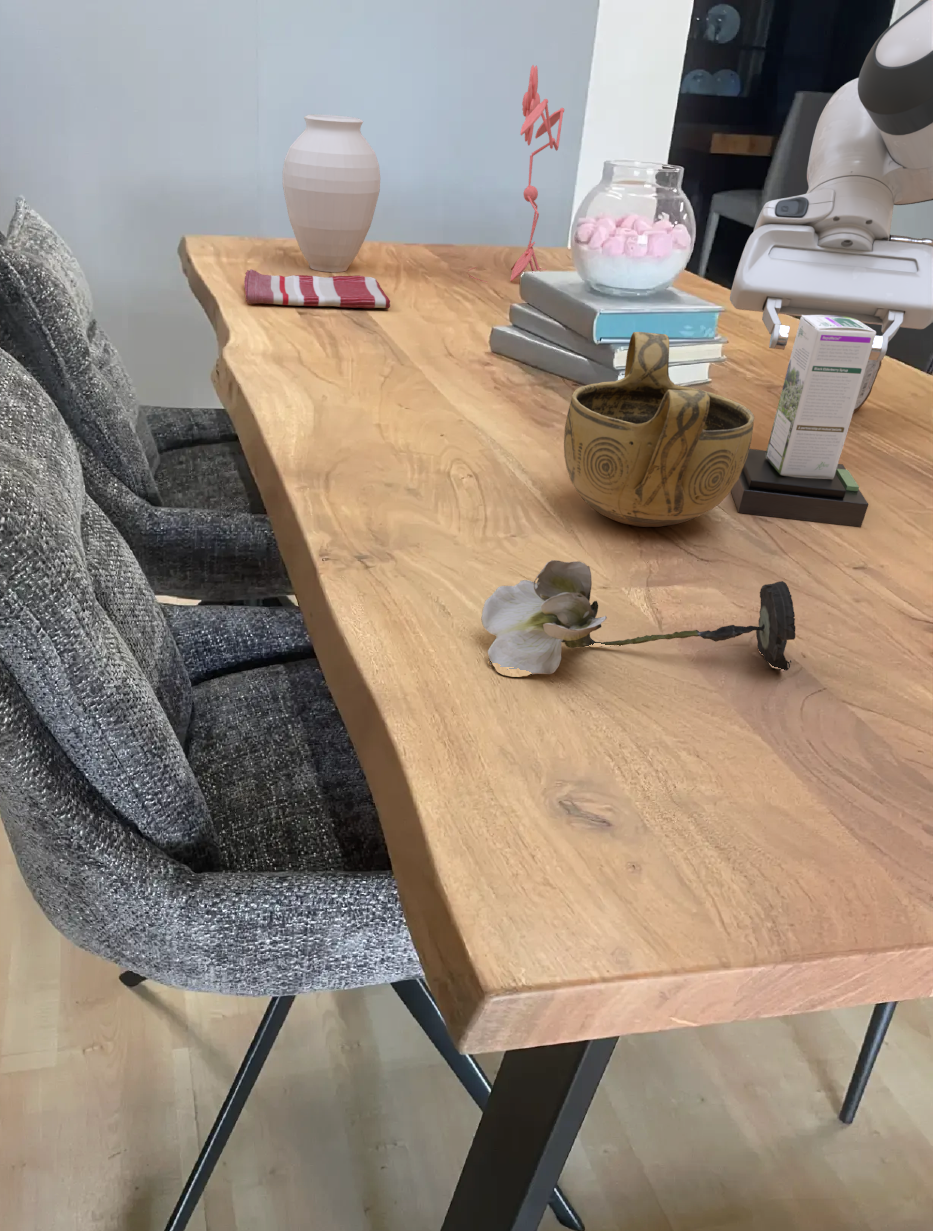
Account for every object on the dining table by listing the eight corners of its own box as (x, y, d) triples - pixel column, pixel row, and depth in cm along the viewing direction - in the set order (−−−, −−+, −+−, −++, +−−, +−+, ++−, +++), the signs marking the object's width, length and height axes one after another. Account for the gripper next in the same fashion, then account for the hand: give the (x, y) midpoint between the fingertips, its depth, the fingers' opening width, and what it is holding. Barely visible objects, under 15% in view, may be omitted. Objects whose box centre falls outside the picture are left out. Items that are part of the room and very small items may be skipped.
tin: (848, 403, 143) (868, 339, 138) (871, 409, 141) (892, 344, 136) (796, 422, 133) (815, 354, 129) (819, 429, 132) (839, 360, 127)
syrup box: (835, 480, 106) (882, 329, 98) (777, 476, 105) (819, 325, 98) (816, 461, 110) (859, 316, 102) (761, 457, 110) (799, 312, 102)
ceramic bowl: (543, 469, 112) (566, 322, 104) (702, 482, 112) (737, 336, 104) (563, 555, 93) (592, 383, 85) (754, 570, 93) (801, 400, 85)
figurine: (546, 269, 215) (575, 67, 195) (540, 293, 193) (571, 68, 174) (472, 261, 216) (493, 60, 197) (457, 284, 195) (479, 61, 176)
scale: (836, 485, 114) (845, 456, 112) (861, 527, 104) (871, 496, 102) (723, 472, 115) (731, 444, 113) (738, 512, 105) (746, 482, 103)
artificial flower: (795, 712, 76) (830, 609, 68) (482, 715, 78) (482, 615, 70) (772, 626, 82) (801, 523, 74) (480, 631, 83) (480, 531, 76)
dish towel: (243, 284, 182) (243, 267, 181) (377, 290, 186) (378, 274, 184) (245, 306, 168) (245, 288, 167) (390, 311, 172) (391, 294, 170)
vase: (280, 257, 206) (282, 109, 192) (370, 261, 208) (378, 116, 195) (282, 274, 191) (284, 116, 178) (379, 279, 194) (388, 123, 180)
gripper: (938, 261, 109) (924, 381, 107) (736, 242, 113) (718, 357, 110) (963, 220, 103) (948, 345, 101) (749, 200, 107) (729, 321, 104)
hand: (826, 351), depth 105 cm, fingers open, 8 cm apart
